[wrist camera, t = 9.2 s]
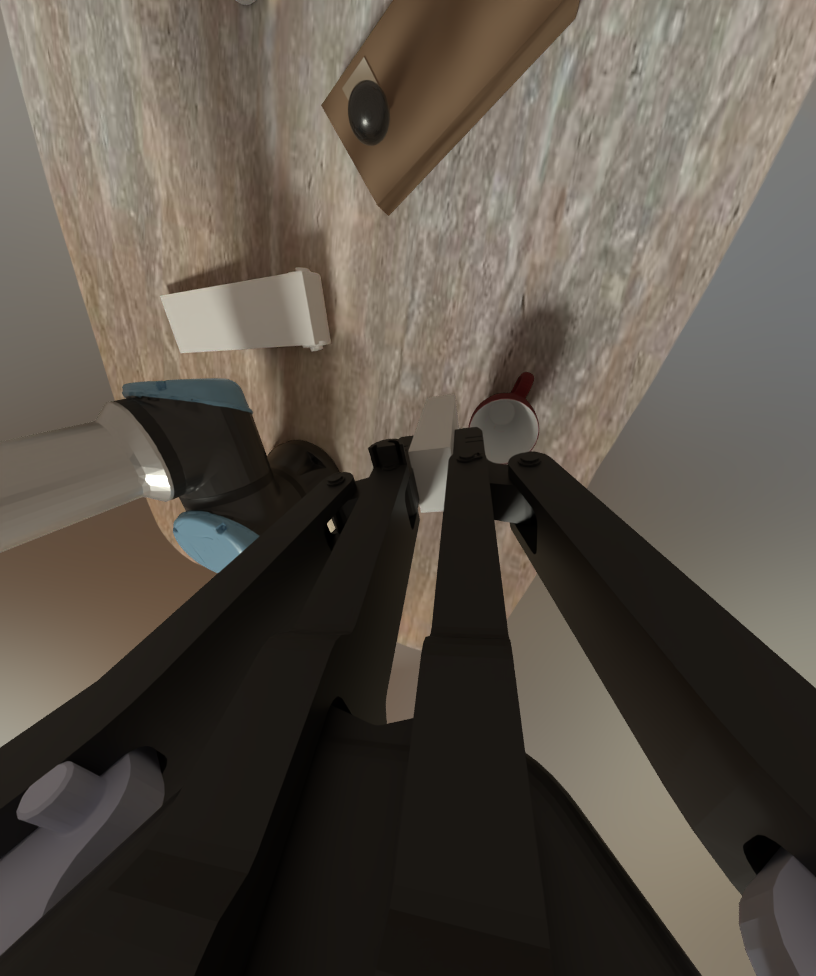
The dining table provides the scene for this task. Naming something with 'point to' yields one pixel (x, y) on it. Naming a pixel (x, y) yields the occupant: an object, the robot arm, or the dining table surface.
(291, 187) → the dining table surface
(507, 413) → the mug
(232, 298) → the wall bracket
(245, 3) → the pill bottle
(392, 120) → the switch box
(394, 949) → the robot arm
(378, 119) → the black knob lever
